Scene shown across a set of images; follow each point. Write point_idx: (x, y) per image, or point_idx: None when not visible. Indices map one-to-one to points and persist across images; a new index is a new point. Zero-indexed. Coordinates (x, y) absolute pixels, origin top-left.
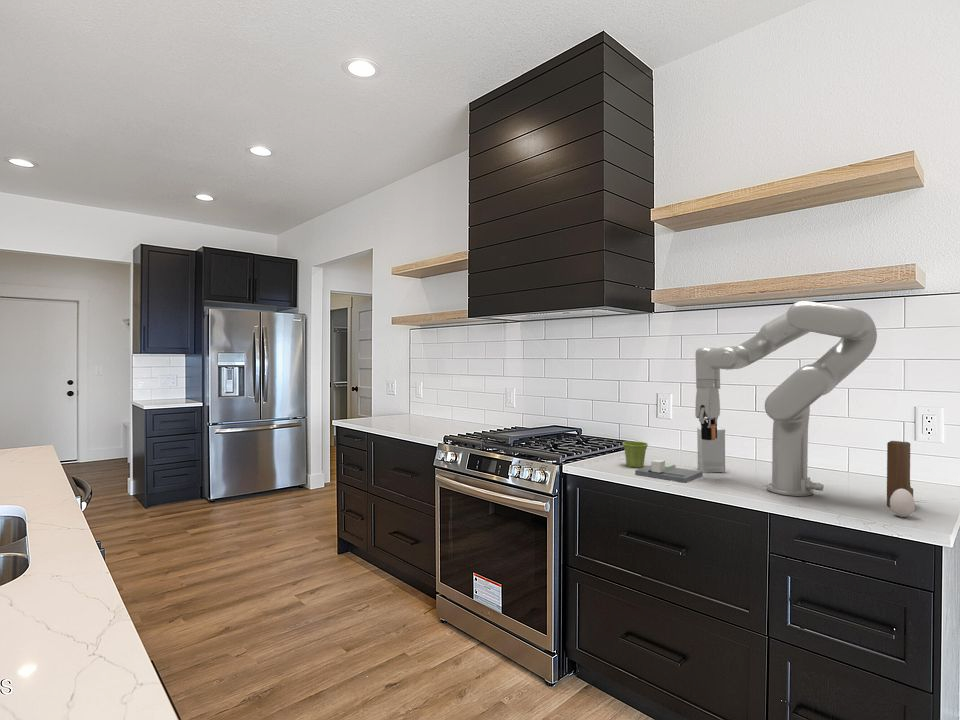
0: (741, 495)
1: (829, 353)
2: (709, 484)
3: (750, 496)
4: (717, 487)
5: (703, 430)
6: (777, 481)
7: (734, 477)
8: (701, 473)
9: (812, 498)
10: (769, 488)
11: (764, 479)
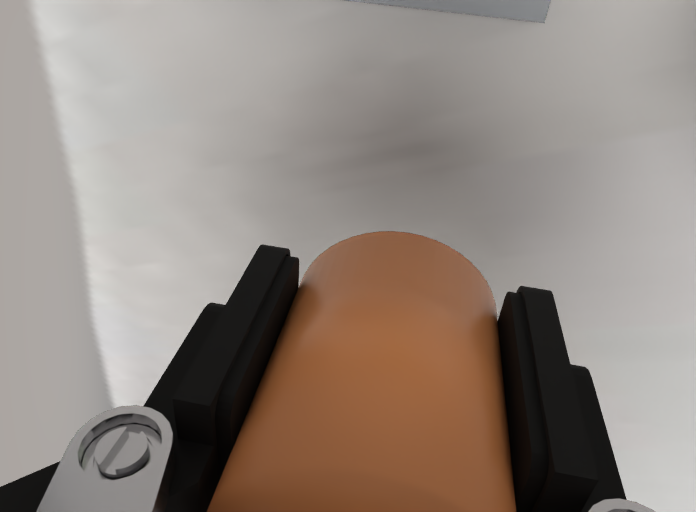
0: (142, 320)
1: None
2: (257, 142)
3: (157, 350)
4: (214, 201)
5: (159, 394)
6: None
7: (606, 238)
8: (513, 16)
9: None
10: None
11: (624, 381)
